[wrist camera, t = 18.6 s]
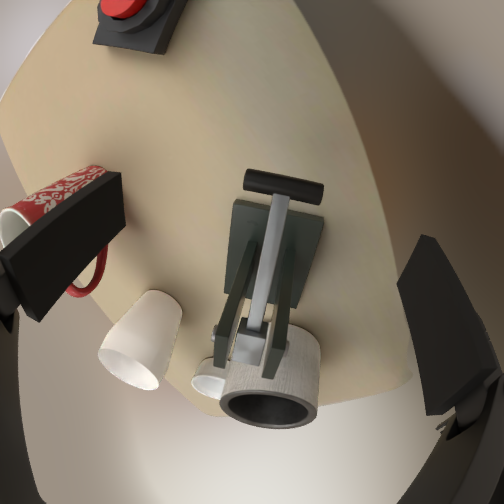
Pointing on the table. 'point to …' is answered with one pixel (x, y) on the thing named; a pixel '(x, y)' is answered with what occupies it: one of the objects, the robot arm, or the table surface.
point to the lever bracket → (283, 283)
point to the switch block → (141, 27)
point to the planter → (276, 386)
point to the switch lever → (269, 254)
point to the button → (121, 7)
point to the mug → (43, 201)
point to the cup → (143, 340)
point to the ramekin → (210, 379)
